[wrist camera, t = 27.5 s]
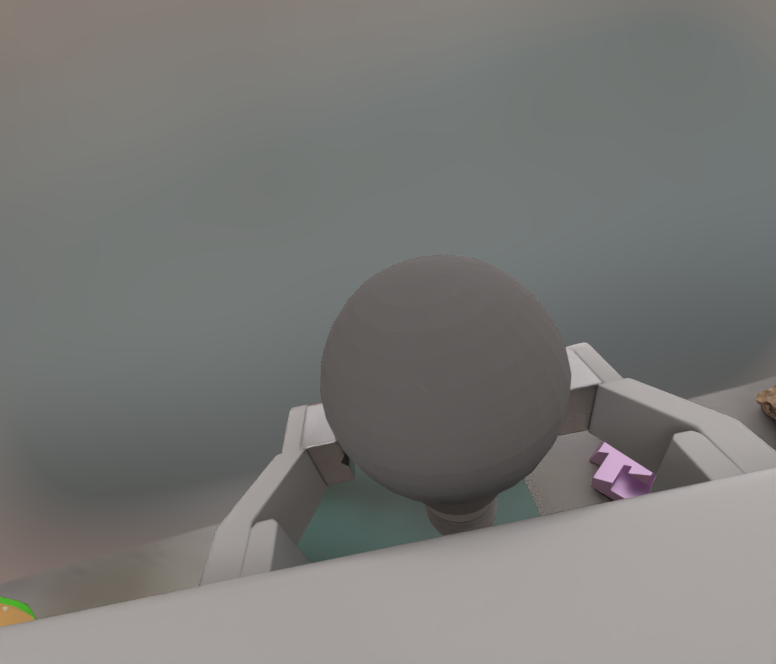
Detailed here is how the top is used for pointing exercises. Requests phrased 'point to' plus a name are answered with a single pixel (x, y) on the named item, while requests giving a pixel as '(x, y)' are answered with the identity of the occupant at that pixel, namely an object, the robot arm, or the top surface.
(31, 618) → the hamburger
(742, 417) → the top surface
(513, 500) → the dark green box lid
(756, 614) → the robot arm
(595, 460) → the letters
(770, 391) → the rock
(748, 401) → the top surface
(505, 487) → the light bulb
